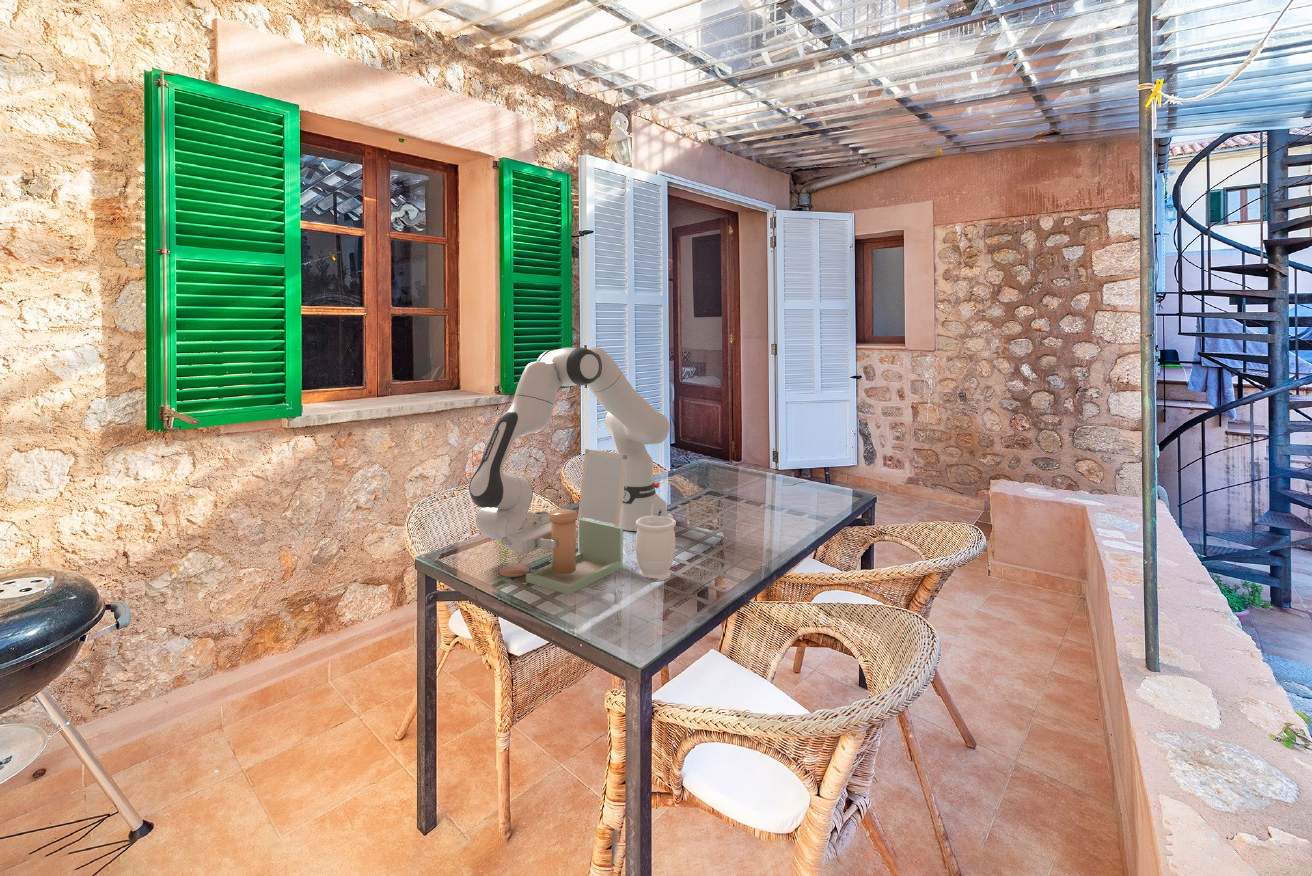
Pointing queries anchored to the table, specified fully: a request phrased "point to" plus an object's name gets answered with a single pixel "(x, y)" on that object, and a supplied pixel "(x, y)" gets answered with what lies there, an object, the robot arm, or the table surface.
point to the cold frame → (586, 559)
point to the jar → (655, 546)
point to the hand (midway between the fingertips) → (566, 540)
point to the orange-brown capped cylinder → (564, 540)
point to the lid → (602, 486)
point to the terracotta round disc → (514, 570)
